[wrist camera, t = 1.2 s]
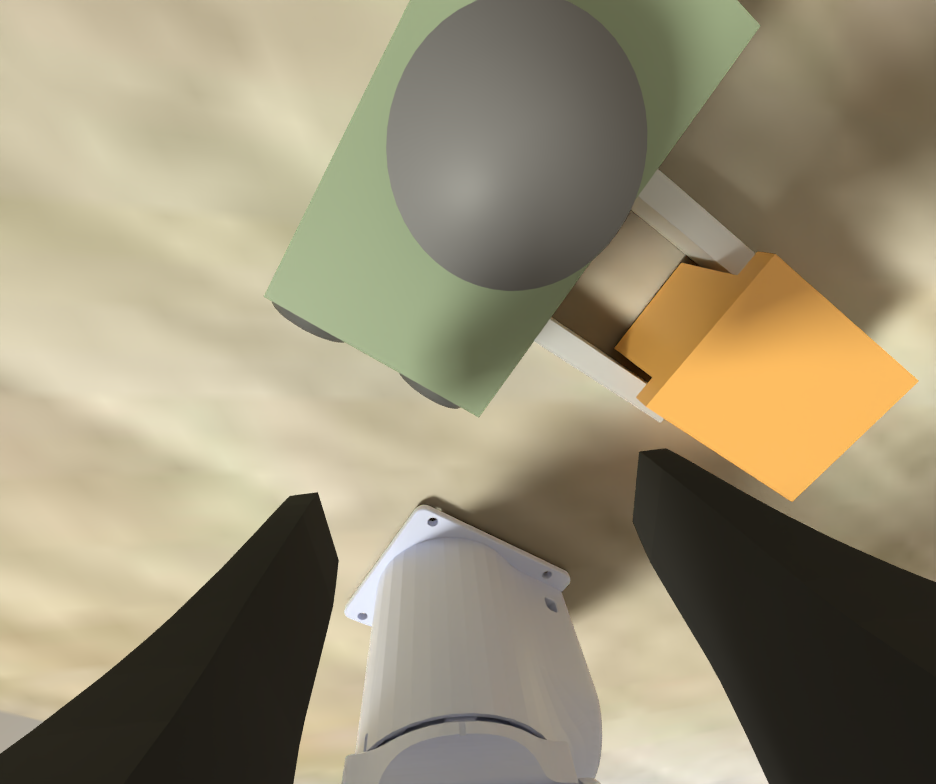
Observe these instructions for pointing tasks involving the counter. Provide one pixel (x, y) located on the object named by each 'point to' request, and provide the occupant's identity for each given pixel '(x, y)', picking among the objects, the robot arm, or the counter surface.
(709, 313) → the orange slab
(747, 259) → the mower housing
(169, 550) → the counter surface
